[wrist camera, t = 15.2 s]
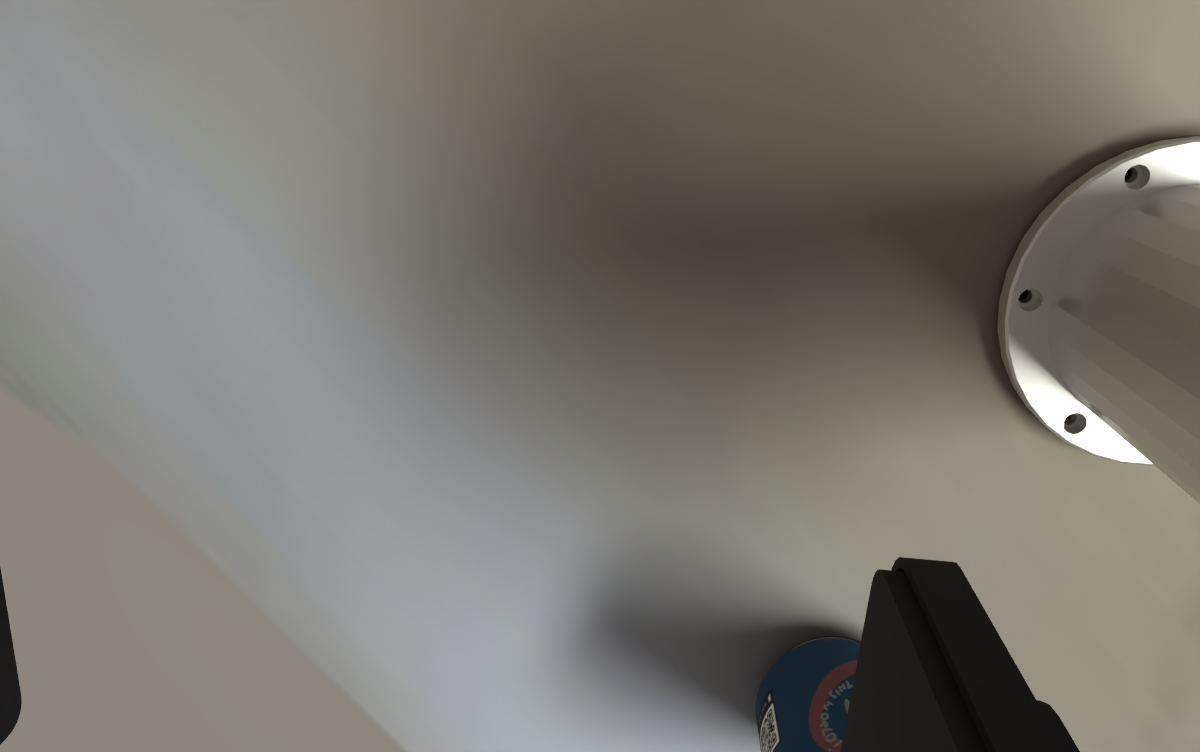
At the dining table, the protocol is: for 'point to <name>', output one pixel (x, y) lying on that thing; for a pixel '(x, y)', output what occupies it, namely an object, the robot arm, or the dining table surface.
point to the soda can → (807, 697)
